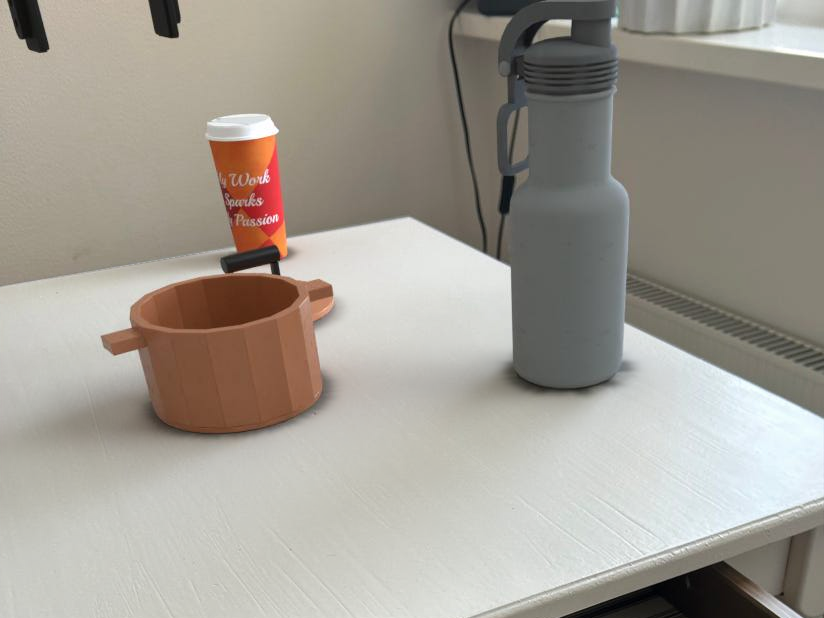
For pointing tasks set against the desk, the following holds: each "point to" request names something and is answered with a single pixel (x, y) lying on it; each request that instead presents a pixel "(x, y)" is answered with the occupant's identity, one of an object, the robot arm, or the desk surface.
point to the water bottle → (565, 196)
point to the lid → (271, 257)
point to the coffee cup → (249, 179)
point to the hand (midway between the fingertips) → (105, 43)
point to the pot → (227, 350)
